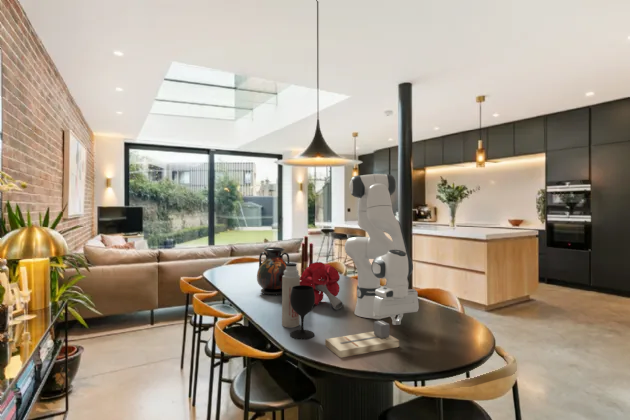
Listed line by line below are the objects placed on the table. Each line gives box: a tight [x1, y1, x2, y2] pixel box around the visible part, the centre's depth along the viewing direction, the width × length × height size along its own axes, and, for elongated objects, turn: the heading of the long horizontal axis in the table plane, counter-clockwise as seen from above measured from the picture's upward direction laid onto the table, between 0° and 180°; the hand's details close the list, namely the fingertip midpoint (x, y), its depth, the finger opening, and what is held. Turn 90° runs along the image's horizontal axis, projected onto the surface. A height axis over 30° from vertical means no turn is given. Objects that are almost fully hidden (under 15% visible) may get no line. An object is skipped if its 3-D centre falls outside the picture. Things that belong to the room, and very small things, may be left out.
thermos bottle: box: [281, 262, 301, 328], centre depth 159 cm, size 8×8×28 cm
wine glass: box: [289, 285, 315, 340], centre depth 146 cm, size 10×10×20 cm
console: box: [324, 330, 400, 359], centre depth 135 cm, size 26×12×3 cm, turn 114°
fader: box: [373, 320, 391, 338], centre depth 139 cm, size 4×5×5 cm
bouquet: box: [300, 261, 343, 311], centre depth 193 cm, size 22×24×30 cm
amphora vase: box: [256, 246, 290, 296], centre depth 218 cm, size 22×22×28 cm
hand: (396, 324), depth 142 cm, fingers closed
